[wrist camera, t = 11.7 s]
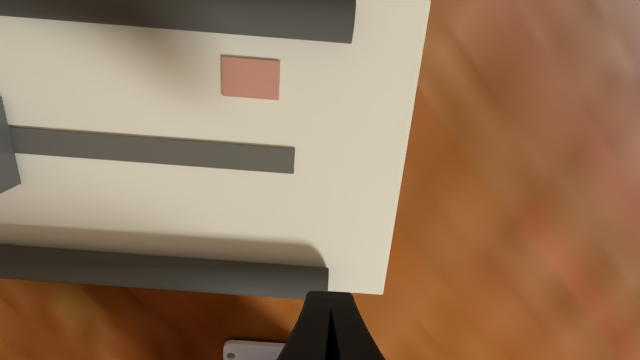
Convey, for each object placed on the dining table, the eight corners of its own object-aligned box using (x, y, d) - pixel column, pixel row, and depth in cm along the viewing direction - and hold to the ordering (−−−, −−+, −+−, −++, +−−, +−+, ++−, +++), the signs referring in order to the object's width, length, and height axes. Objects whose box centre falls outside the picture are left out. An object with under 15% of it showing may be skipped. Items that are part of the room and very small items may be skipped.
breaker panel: (376, 267, 22) (383, 295, 19) (-71, 235, 22) (-121, 260, 19) (416, 5, 17) (431, 0, 14) (-165, -42, 17) (-250, -56, 14)
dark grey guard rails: (326, 287, 19) (326, 308, 18) (-61, 259, 19) (-94, 278, 18) (353, -1, 15) (357, -5, 13) (-164, -43, 14) (-221, -52, 13)
